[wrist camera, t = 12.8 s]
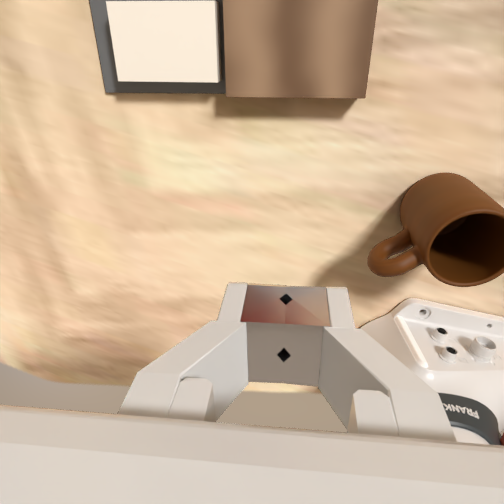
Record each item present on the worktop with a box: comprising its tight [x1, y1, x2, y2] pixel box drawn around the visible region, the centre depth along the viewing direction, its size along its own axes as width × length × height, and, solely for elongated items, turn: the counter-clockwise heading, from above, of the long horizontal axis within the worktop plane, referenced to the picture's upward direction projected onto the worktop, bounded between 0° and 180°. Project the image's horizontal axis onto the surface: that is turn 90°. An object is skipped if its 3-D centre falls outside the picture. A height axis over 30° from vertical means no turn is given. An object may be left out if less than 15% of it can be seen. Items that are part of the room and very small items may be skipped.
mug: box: [368, 173, 504, 287], centre depth 36 cm, size 12×8×9 cm, turn 114°
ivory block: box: [106, 1, 222, 83], centre depth 33 cm, size 9×6×2 cm, turn 90°
